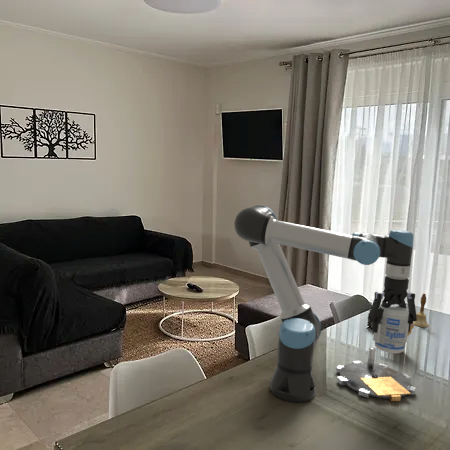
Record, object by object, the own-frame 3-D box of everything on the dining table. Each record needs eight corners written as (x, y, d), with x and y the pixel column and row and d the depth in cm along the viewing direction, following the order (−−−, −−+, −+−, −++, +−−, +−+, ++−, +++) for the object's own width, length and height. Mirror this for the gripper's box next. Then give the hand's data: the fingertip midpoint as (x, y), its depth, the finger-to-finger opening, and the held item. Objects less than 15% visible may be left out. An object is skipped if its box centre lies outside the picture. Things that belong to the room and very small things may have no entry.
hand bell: (430, 324, 231) (433, 293, 229) (427, 328, 224) (431, 297, 222) (412, 320, 235) (416, 290, 233) (409, 324, 228) (413, 293, 226)
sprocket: (410, 410, 144) (414, 384, 143) (326, 386, 157) (328, 362, 156) (419, 377, 168) (421, 355, 167) (345, 358, 181) (347, 337, 180)
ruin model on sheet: (366, 328, 220) (368, 309, 219) (369, 327, 222) (371, 308, 221) (387, 336, 211) (390, 316, 210) (391, 334, 213) (393, 314, 212)
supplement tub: (385, 355, 148) (390, 311, 146) (368, 344, 157) (372, 302, 155) (410, 353, 151) (415, 310, 149) (392, 342, 160) (396, 301, 158)
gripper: (372, 279, 145) (365, 346, 148) (433, 279, 149) (426, 344, 152) (360, 273, 152) (354, 337, 155) (419, 274, 157) (412, 336, 160)
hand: (389, 341), depth 154 cm, fingers closed on supplement tub, 10 cm apart
